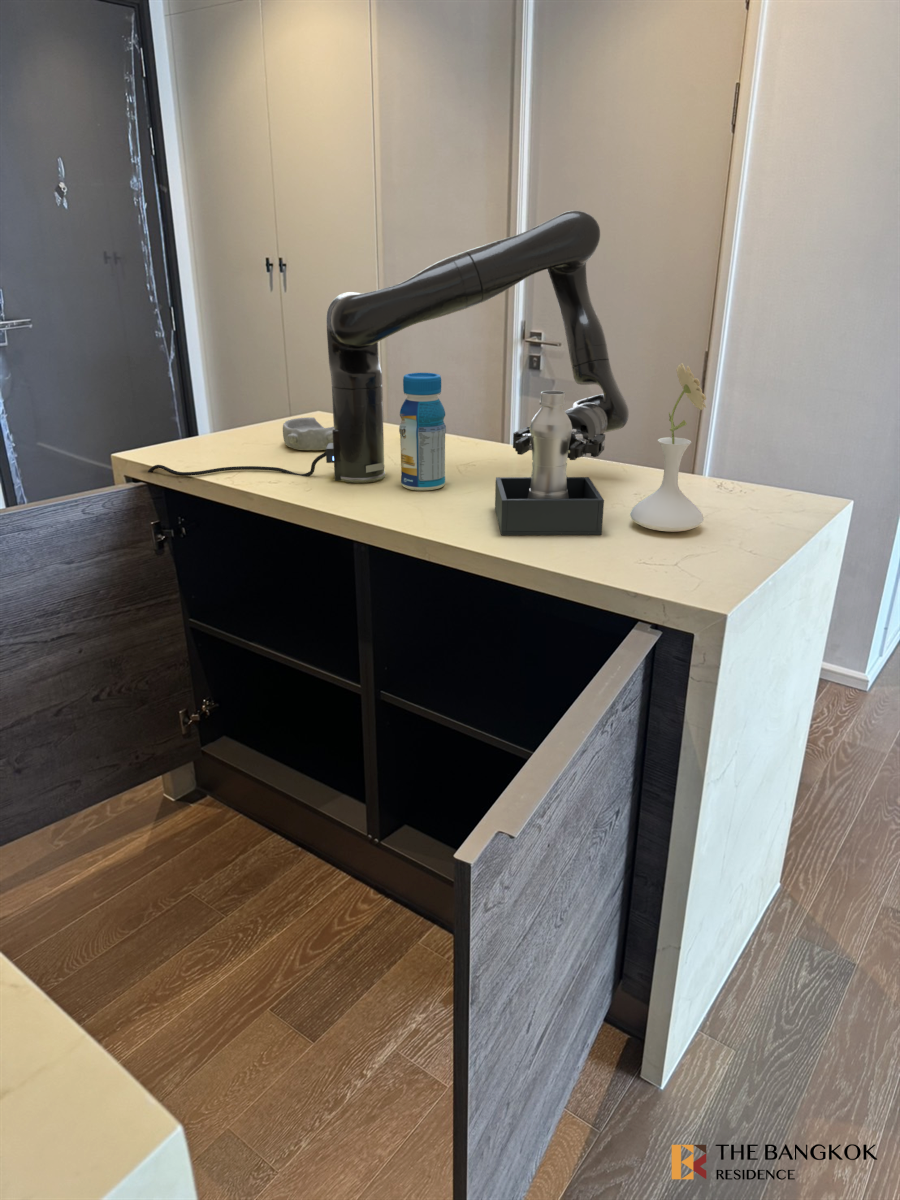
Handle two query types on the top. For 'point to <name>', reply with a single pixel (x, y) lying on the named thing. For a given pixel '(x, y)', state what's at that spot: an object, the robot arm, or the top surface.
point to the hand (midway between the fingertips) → (545, 450)
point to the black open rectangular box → (548, 509)
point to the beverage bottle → (422, 433)
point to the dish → (306, 434)
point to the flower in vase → (672, 474)
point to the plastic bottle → (550, 448)
